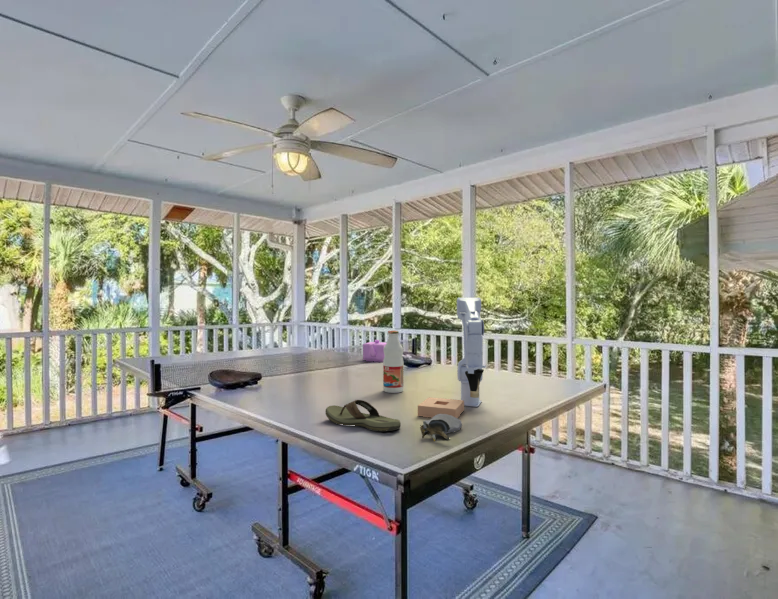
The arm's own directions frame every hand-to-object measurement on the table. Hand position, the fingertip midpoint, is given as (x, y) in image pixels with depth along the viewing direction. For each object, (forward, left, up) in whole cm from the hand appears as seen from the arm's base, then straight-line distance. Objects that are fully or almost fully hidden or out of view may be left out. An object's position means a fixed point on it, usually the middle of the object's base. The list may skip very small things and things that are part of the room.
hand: (474, 390), depth 160 cm
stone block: (+19, -6, -10) cm, 23 cm away
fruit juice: (-29, -43, -10) cm, 53 cm away
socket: (0, -12, -10) cm, 16 cm away
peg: (0, 0, -2) cm, 2 cm away
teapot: (-113, -89, -10) cm, 144 cm away
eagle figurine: (+29, -6, -10) cm, 31 cm away
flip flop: (+24, -34, -10) cm, 43 cm away
